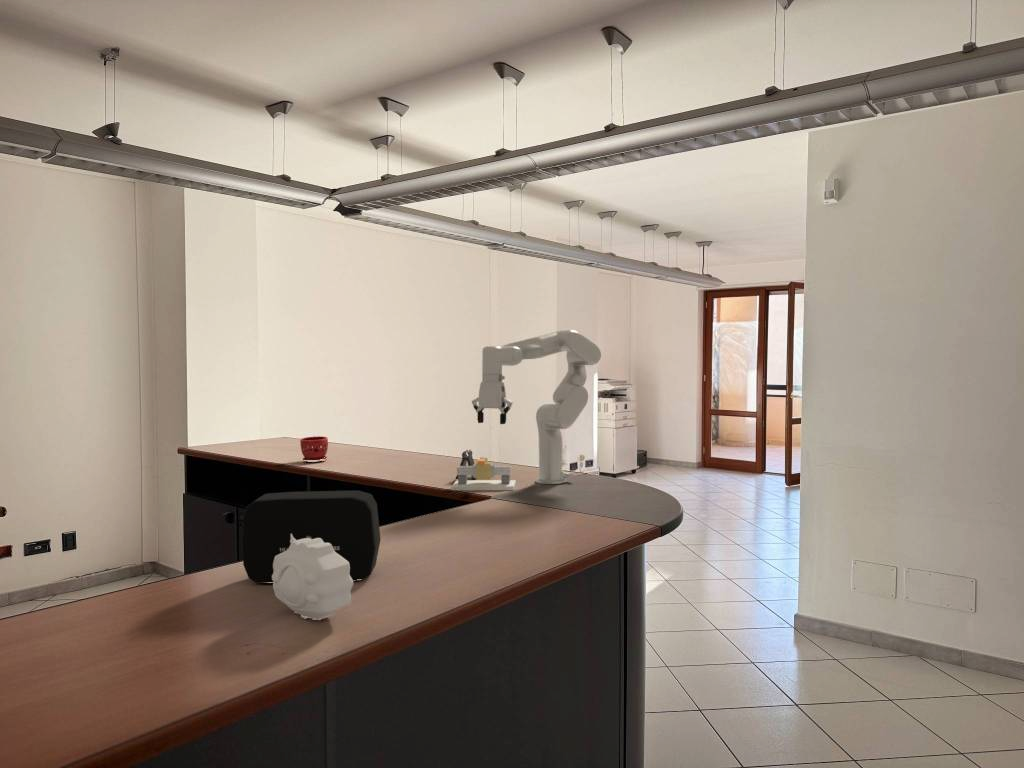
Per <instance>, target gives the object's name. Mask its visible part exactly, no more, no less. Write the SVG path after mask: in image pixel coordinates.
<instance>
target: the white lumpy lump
mask: <svg viewBox="0 0 1024 768" xmlns="http://www.w3.org/2000/svg"><path fill="white" fill-rule="evenodd" d="M290 536H291V540H290V543H291V544H290V547H289V549H288V550H287V551H285V552H283V553H280V554H278V555H276V556H275V558H274V562H273V570H274V572H273V575H272V580H273V582H274V583H273V584H272V588H273V592H274V596H275V597H276V598H277V599H278V600H279V601H281V602H282V603H283V605H286V606H287V607H288V608H289V609H290V610H291V611H292V610H293V611H295V612H297V613H298V614H297V615H299V614H300V615H303V616H308V617H311V618H316V619H319V618H323V617H325V616H328V615H331V614H333V613H334V614H335V613H336V612H337V610H339V609H341V608H344V607H346V606H349V605H350V604H351V602H352V595H351V594H352V593H351V590H352V588H353V586H354V581H353V580H352V578H351V576H350V574H349V572H350V565H349V562H348V561H347V560H346V559H344V558H343V557H342V556H340V555H339V554H337V553H336V552H335V551H334V549H333V547H332V545H331V544H330V543H324V542H323V540H322V539H321V538H315V539H311V538H304V539H300V540H296V539H295V538H294V537H293V535H292V534H291V535H290ZM293 611H292V612H293ZM334 614H333V615H334ZM300 615H299V616H300ZM311 618H310V619H311Z"/></svg>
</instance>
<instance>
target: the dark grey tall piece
mask: <svg viewBox="0 0 1024 768" xmlns="http://www.w3.org/2000/svg"><path fill="white" fill-rule="evenodd" d="M474 464H476V462H475V461H474V458H473V451H472V449H469V450H468V449H467V450H465V451H463V452H462V453H461V461H460V465H459V466H473V465H474ZM458 476H459V475H457V474H456V476H455V479H458ZM467 480H476V478H473V475H470V476H467Z"/></svg>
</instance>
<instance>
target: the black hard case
mask: <svg viewBox="0 0 1024 768" xmlns="http://www.w3.org/2000/svg"><path fill="white" fill-rule="evenodd" d="M245 507H246V508H245V510H244V513H243V521H242V522H243V523H242V554H243V555H242V558H243V559H242V561H243V562H242V564H243V565H242V566H243V568H244V570H245V572H246V575H247V577H248V579H249V580H251V581H252V582H254V583H256V582H273V580H272V575H273V572H274V570H273V562H274V558H275V556H276V555H278V554H280V553H283V552H285V551H287V550H288V549H289V547H290V544H291V543H290V540H291V536H290V535H291V534H292V535H293V537H294V538H295V539H296V540H300V539H304V538H311V539H315V538H321V539H322V540H323V542H324V543H330V544H331V545H332V547H333V549H334V551H335V552H336V553H337V554H339V555H340V556H342V557H343V558H344V559H346V560H347V561H348V562H349V565H350V572H349V574H350V576H351V578H352V580H357V579H364V580H365V579H366V578H369V577H370V576H371V575H372V573H373V571H374V569H375V568H376V565H377V560H378V555H379V549H380V544H381V530H380V521H379V512H378V503H377V502H376V499H375V498H374V496H373V494H372V493H369V492H364V491H362V490H355V489H354V490H318V491H317V490H315V491H309V490H308V491H285V492H272V493H271V492H270V493H264V494H263V495H261V496H260V497H257V498H256V499H255V500H253V501H252V502H251V503H250V504H248V505H247V506H245Z"/></svg>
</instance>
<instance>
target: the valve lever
mask: <svg viewBox="0 0 1024 768" xmlns="http://www.w3.org/2000/svg"><path fill="white" fill-rule="evenodd" d="M476 461H477V462H476V463H477V466H482V465H485V461H486V462H488V457H487V456H481V457H480V459H478V460H476Z"/></svg>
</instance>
